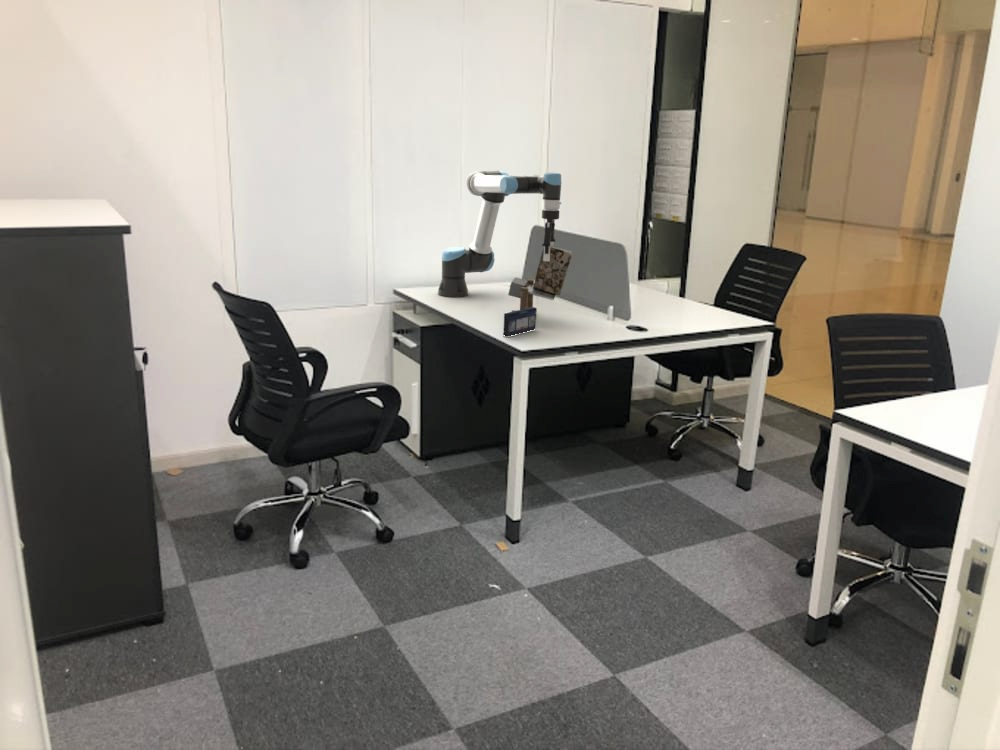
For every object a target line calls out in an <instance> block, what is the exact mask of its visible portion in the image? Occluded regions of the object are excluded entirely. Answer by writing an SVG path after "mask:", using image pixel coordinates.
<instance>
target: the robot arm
mask: <svg viewBox="0 0 1000 750" xmlns="http://www.w3.org/2000/svg"><path fill="white" fill-rule="evenodd" d="M465 187H466V190H467V191H468V192H469V194H471V195H473V196H477V197H480V199H482V202H481V206H480V209H479V210H480V211H479V216H478V219H477V225H476V229H475V233H474V238H473V241H472V242H471V243H469V246H468V249H467V248H465V247H462V246H453V247H447V248H446V249H445V248H444V250H443V251H442V253H441V256H442V257H441V280H440V283H439V287H438V291H437V294H438V295H439V296H441V297H446V296H448V297H447V298H461V297H462V296H463V297H466V296H468V295H469V289H468V285H467V282H466V274H469V273H471V274H472V273H484V272H489V271H491V270H492V268H493V266H494V263H495V253H494V251H493V249H492V247H491V243H492V238H493V236H494V235H493V234H494V231H495V226H496V223H497V217H498V214H499V210H500V206H501V204H502V203H504V201H505V198H506V197H508V196H510V195H514V194H516V195H518V194H521V195H522V194H524V195H525V194H539V195H542V201H541V202H542V203H541V204H542V205H541V208H542V210H541V219H543V220H546V222H545V223H544V227H545V228H544V239H543V243H542V247H543V248H544V255H543V261H550V246H553V247H554V245H555V244H554V242H555V243H556V239H555V227H556V224H555V221H556V220H559V219H560V210H559V209H560V205H562V202H561V194H562V193H561V192H562V174H561V173H560V172H551V171H550V172H549V171H548V172H544V173H543V175H539V174H537V175H536V174H533V175H510V174H509V173H508V172H506V171H505V170H504V171H503V170H476V171H473V172H471V173H469V175H467V177H466V179H465ZM463 297H462V298H463Z"/></svg>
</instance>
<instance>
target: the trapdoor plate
mask: <svg viewBox="0 0 1000 750" xmlns="http://www.w3.org/2000/svg"><path fill="white" fill-rule="evenodd" d="M527 284H528V281H527V280H526V279H523V278H520V277H517V276H516V277H514V278H513V279H512V281H511V282H510V287H509V290H508V294H507V296H511V297H514V298H518V299H520V297H521V287H526V288H527ZM533 286H534V285H532V284H530V285H529V286H528V294H532V295H533V296H536V297H540V298H542V299H547V300H551V301H555V299H556V296H557V295H556V294H553V293H549V292H545V291H541V290H538V289H535V288H533Z"/></svg>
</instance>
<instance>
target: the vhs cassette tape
mask: <svg viewBox="0 0 1000 750" xmlns="http://www.w3.org/2000/svg"><path fill="white" fill-rule="evenodd" d="M537 309H538V308H537V307H534V306H533V307H531V308H526V309H521V310H520V309H519V310H517V309H516V311H513V312H512V311H509V312H504V315H503V330H502V331H503V332H502V335H505V336H511V335H515V334H519V333H523V332H527V331H530V330H534V329H535V330H536V324H537V312H538V311H537Z"/></svg>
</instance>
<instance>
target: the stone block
mask: <svg viewBox="0 0 1000 750" xmlns="http://www.w3.org/2000/svg"><path fill="white" fill-rule="evenodd" d="M541 251H542V252H541V254H540V257H539V258H540V259H539V262H538V263H539V264H538V266H537V269H536V270H537V271H536V274H535V279H534V286H533V288H535V289H538V290H541V291H545V292H549V293H553V294H556V296H560V295H561V294H562V293H561V292H562V289H563V286H564V283H565V279H566V276H567V274H568V273H567V272H568V269H569V266H570V264H571V263H570V262H571V259H572V255H573V252H572V251H571V250H568V249H564V248H561V247H556V246H554V245H553V246H550V261H543V255H544V247H543V249H542V250H541Z"/></svg>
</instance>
